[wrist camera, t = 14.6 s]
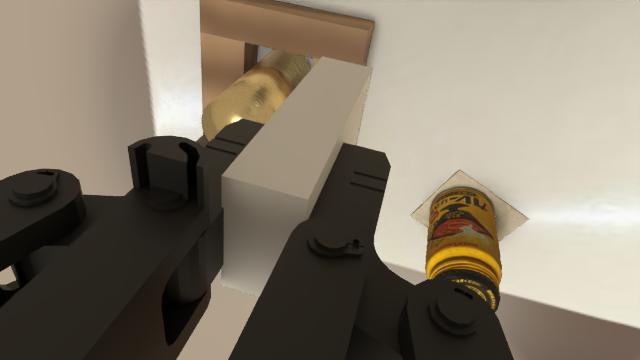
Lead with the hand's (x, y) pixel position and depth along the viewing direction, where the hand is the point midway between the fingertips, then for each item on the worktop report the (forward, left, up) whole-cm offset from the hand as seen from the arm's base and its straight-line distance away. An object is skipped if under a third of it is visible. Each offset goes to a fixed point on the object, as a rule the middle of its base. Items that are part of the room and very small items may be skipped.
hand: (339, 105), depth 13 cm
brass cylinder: (+10, -9, -24) cm, 28 cm away
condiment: (+20, +11, -25) cm, 34 cm away
